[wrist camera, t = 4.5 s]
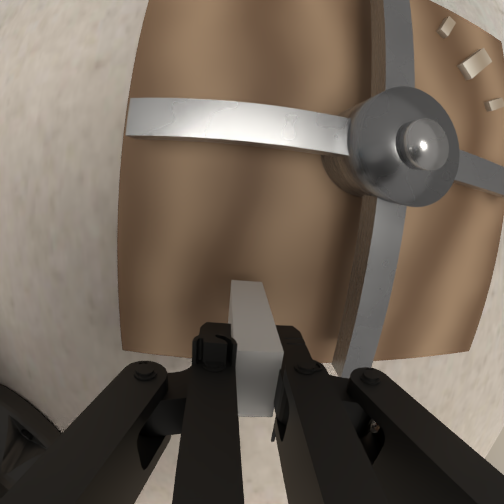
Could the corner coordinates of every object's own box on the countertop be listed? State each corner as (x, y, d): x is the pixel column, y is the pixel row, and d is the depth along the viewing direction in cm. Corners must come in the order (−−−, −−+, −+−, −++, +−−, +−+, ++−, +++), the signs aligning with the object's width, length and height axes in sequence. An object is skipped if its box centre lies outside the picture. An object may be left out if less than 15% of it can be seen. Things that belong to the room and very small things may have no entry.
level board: (128, 338, 19) (119, 355, 17) (168, -38, 13) (163, -56, 11) (459, 343, 22) (473, 354, 20) (490, 45, 16) (506, 39, 14)
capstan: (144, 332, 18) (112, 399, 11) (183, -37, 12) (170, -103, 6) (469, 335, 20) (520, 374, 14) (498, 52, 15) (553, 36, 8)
